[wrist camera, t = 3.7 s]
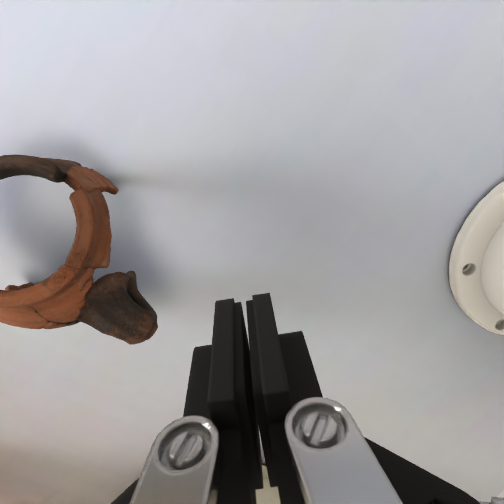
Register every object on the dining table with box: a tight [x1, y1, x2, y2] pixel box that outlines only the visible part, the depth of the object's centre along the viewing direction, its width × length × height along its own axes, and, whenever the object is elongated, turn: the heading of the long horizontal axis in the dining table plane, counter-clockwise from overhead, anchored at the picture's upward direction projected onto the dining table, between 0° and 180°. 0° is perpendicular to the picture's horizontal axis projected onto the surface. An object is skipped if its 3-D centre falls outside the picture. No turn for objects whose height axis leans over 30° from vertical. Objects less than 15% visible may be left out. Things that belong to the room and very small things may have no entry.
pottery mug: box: [0, 155, 158, 344], centre depth 20 cm, size 12×10×8 cm
